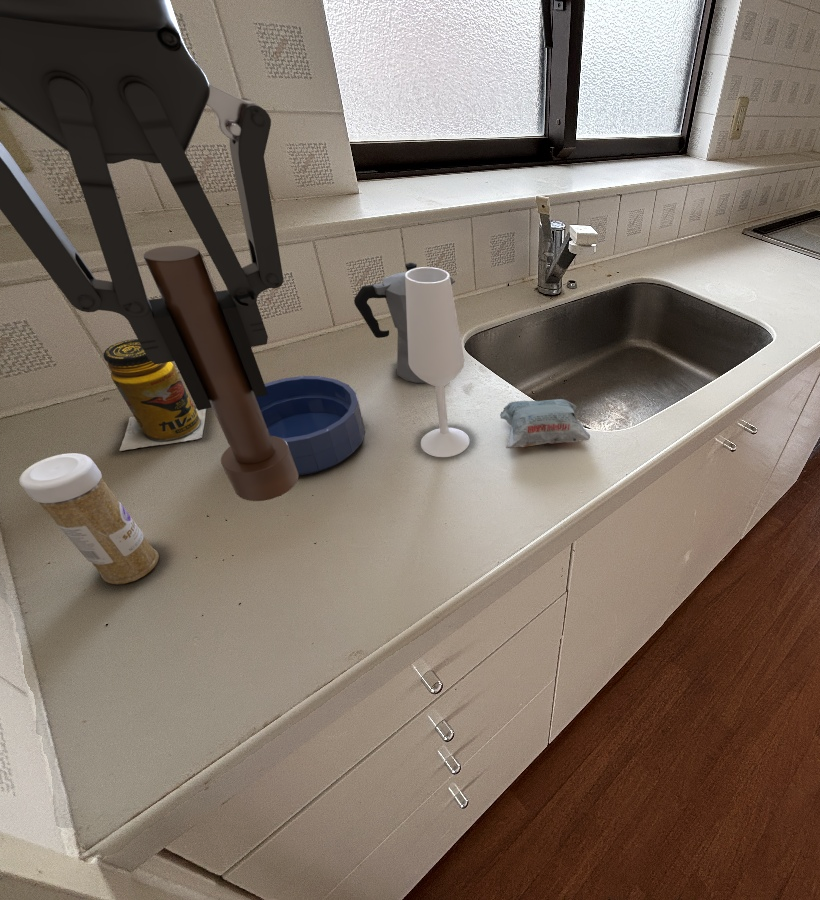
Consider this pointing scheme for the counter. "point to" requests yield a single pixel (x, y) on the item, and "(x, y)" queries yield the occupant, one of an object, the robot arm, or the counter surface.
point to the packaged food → (542, 423)
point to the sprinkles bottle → (90, 516)
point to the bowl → (313, 420)
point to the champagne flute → (435, 349)
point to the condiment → (152, 398)
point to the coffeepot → (396, 301)
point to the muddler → (222, 375)
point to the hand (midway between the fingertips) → (229, 392)
